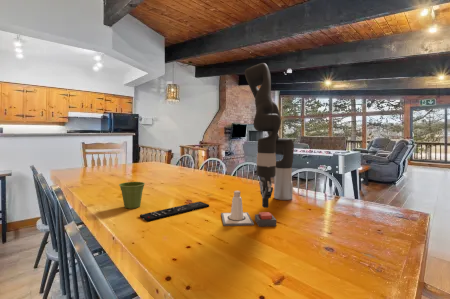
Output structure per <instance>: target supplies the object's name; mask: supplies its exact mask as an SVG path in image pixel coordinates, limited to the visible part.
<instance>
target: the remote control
mask: <svg viewBox="0 0 450 299" xmlns="http://www.w3.org/2000/svg"><path fill="white" fill-rule="evenodd" d="M209 207H210V204H209V203H205V202H203V201H196V202H191V203H187V204H186V203H185V204H182V205H178V206H173V207H169V208H165V209H160V210H156V211H151V212H146V213H142V214H139V218H141V220H143V221H145V222H147V223H149V222H153V221H156V220H160V219H161V220H162V219H165V218H169V217H173V216H178V215H181V214H186V213H189V212H194V211H198V210H201V209H206V208H209Z"/></svg>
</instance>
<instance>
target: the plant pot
mask: <svg viewBox="0 0 450 299" xmlns="http://www.w3.org/2000/svg"><path fill="white" fill-rule="evenodd" d="M145 185H146V183H145V182H143V181H128V182H127V181H126V182H122V183H119V184H118V186H119V187H120V191H121V195H122V201H123V202H122V203H123V206H124V208H125V209H138V208H139V207H141V204H142V203H141V202H142V196H143V190H144V188H145Z"/></svg>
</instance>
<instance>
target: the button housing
mask: <svg viewBox="0 0 450 299" xmlns="http://www.w3.org/2000/svg"><path fill="white" fill-rule="evenodd" d="M270 214H271V215H272V219H260V217H259V213H257V214H254V222H255V223H256V224H257V226H258V227H259V228H260V227H277V219H276V217H275V216H274V215H273V214H272V213H270Z"/></svg>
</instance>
